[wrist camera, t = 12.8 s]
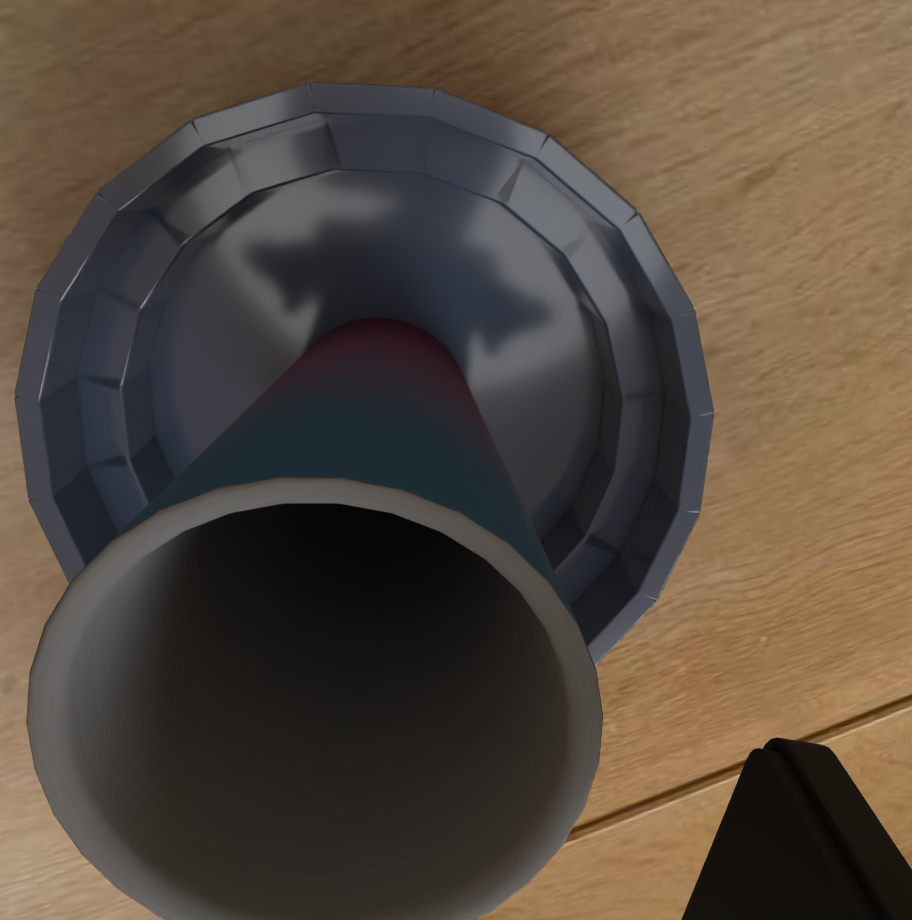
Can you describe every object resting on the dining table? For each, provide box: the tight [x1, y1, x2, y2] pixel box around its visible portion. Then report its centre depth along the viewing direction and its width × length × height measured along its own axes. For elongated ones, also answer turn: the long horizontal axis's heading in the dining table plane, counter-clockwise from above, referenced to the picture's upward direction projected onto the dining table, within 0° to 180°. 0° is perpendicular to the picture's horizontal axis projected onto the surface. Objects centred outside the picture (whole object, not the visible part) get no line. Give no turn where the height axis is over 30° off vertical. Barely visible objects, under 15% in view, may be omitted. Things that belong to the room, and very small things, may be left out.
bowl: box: [15, 82, 714, 666], centre depth 23 cm, size 16×16×5 cm
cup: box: [26, 318, 603, 920], centre depth 17 cm, size 7×7×15 cm
